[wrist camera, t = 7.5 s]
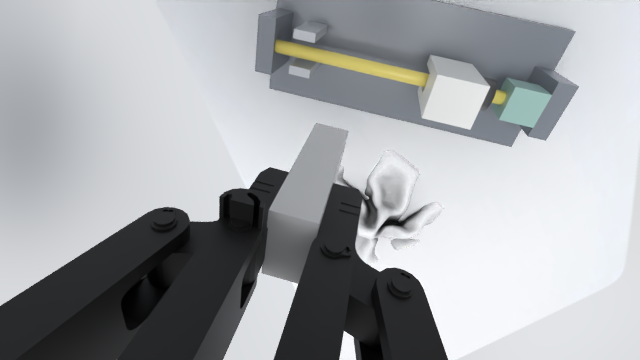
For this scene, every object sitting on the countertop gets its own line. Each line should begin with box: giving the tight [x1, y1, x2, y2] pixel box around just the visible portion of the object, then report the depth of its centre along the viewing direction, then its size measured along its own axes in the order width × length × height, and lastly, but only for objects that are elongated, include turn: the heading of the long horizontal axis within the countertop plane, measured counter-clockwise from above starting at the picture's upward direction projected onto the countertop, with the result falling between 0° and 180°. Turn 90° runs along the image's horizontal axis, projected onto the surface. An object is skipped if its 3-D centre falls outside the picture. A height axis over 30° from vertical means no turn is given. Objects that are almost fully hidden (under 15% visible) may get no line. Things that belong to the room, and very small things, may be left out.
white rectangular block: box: [418, 55, 490, 130], centre depth 29 cm, size 4×4×7 cm
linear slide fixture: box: [255, 0, 579, 147], centre depth 32 cm, size 28×12×8 cm, turn 80°
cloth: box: [336, 150, 444, 263], centre depth 44 cm, size 22×19×6 cm
